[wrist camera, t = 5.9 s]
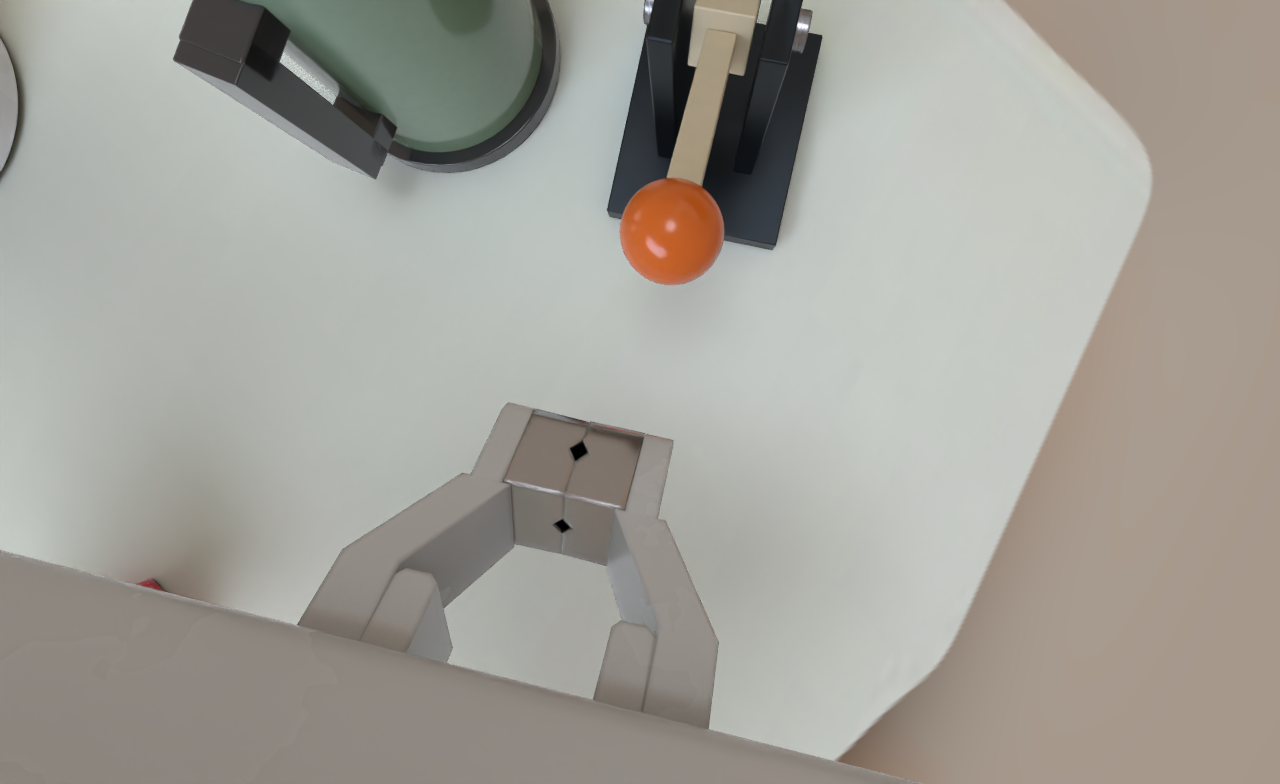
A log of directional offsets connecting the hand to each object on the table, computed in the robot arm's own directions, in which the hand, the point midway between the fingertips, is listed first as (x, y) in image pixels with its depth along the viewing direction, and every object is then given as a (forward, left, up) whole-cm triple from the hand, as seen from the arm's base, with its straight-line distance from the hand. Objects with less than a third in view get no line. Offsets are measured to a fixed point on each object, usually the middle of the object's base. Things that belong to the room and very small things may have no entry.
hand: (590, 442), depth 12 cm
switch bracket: (-2, +15, -24) cm, 28 cm away
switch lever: (-2, +10, -12) cm, 15 cm away
